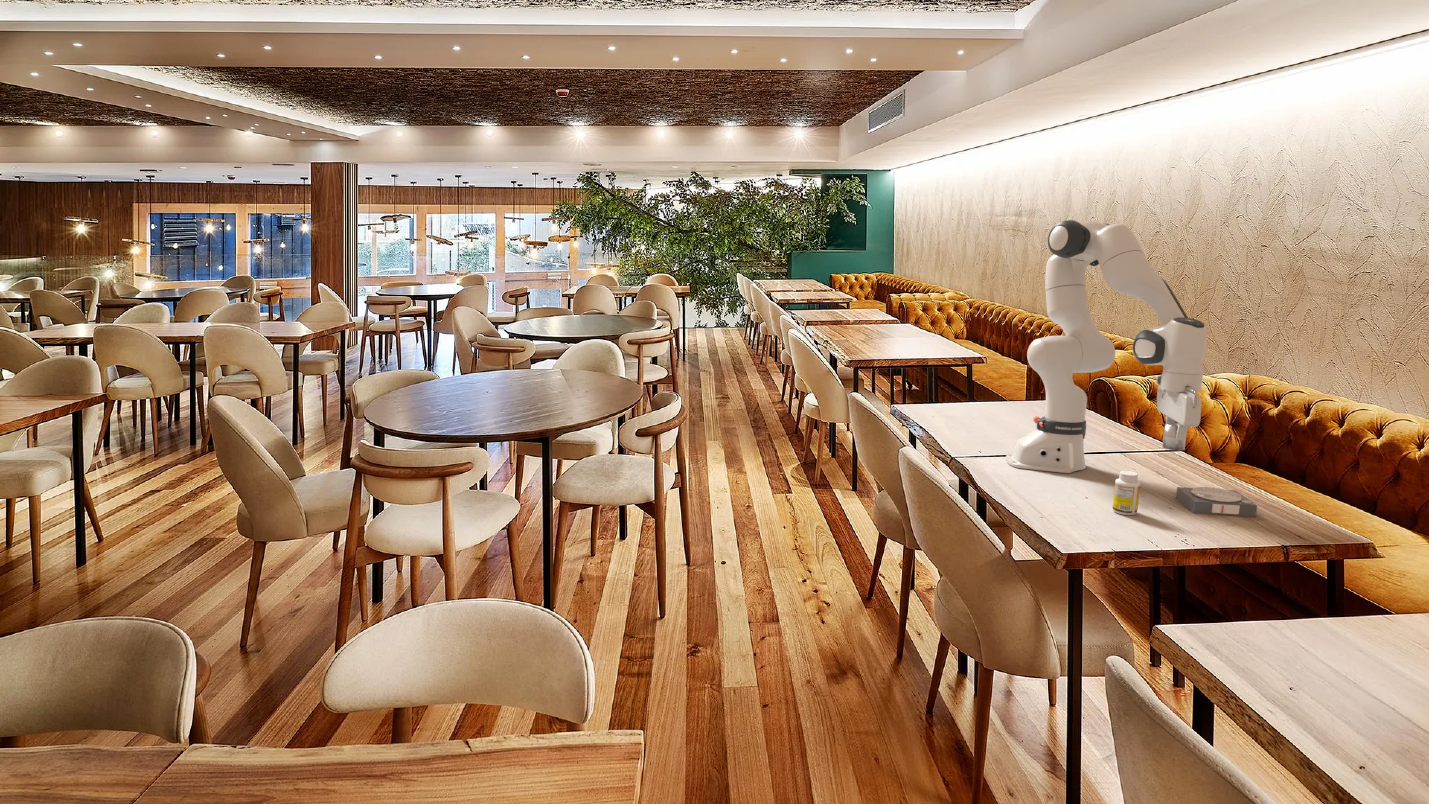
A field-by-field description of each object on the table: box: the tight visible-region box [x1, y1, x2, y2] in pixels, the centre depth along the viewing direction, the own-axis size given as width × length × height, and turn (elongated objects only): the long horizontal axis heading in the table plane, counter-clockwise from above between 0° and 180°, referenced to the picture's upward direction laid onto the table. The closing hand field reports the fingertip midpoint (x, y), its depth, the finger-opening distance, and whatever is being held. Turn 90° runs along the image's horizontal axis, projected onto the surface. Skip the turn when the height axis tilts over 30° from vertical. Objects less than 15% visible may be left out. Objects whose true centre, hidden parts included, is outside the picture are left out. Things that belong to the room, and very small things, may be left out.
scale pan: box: [1191, 486, 1242, 503], centre depth 206 cm, size 11×11×1 cm
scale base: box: [1175, 486, 1258, 518], centre depth 206 cm, size 14×12×3 cm
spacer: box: [1161, 422, 1188, 452], centre depth 207 cm, size 5×5×6 cm
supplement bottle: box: [1112, 470, 1141, 516], centre depth 201 cm, size 6×6×10 cm
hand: (1174, 436), depth 207 cm, fingers closed on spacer, 5 cm apart
